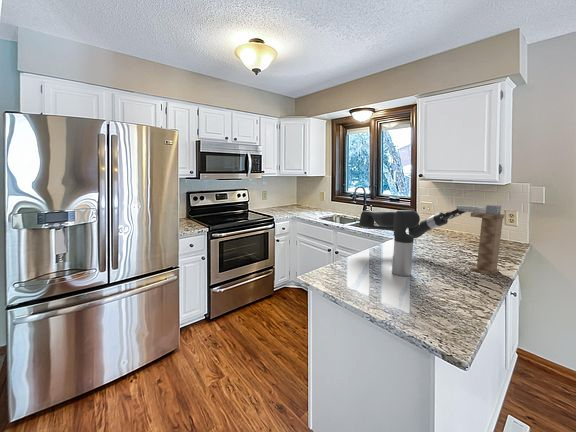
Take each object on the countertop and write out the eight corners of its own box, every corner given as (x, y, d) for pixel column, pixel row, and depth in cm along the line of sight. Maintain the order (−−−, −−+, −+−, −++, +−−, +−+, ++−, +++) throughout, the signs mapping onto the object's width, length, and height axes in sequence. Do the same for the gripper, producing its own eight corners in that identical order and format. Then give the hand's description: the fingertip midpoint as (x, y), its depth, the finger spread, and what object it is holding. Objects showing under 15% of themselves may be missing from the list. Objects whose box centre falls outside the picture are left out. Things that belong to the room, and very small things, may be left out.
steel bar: (455, 210, 166) (456, 202, 166) (459, 210, 169) (460, 202, 168) (496, 215, 150) (497, 206, 149) (500, 214, 153) (501, 205, 152)
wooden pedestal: (465, 268, 162) (470, 212, 157) (473, 265, 168) (479, 211, 163) (490, 275, 152) (497, 215, 147) (498, 271, 158) (505, 214, 153)
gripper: (445, 225, 181) (471, 215, 169) (432, 227, 173) (459, 217, 161) (440, 214, 183) (465, 203, 171) (427, 215, 175) (453, 204, 163)
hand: (462, 210), depth 166 cm, fingers open, 8 cm apart
